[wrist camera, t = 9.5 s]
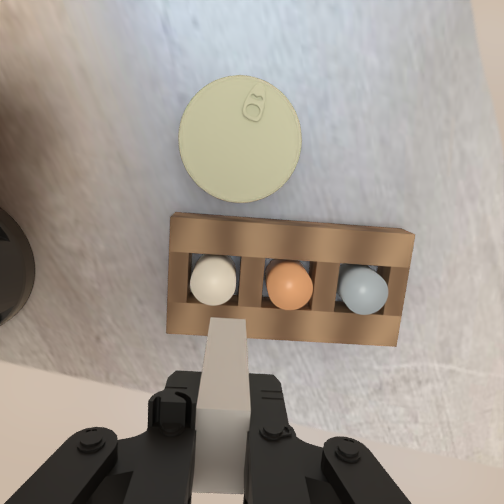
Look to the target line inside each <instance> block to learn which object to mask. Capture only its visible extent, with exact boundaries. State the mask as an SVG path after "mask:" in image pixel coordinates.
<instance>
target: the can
mask: <svg viewBox="0 0 504 504" xmlns="http://www.w3.org/2000/svg"><path fill="white" fill-rule="evenodd" d="M178 141H179V150H180V155H181V159H182V161H183V164H184V166H185V168H186V170H187V172H188V174H189V175H190V177H191V178H192V179H193V180H194V182H195V183H196V184H197V185H198V186H199V187H200V188H201V189H203V190H204V191H205V192H207V193H208V194H210V195H212V196H214V197H216V198H218V199H221V200H224V201H228V202H234V203H247V202H253V201H257V200H260V199H263V198H265V197H267V196H269V195H271V194H273V193H274V192H276V191H277V190H278V189H279V188H280V187H282V186H283V185H284V184H285V183H286V181H287V180H288V179H289V177H290V176H291V174H292V173H293V171H294V169H295V167H296V165H297V163H298V160H299V156H300V152H301V143H302V137H301V128H300V123H299V120H298V117H297V114H296V112H295V110H294V108H293V106H292V104H291V103H290V102H289V100H288V99H287V98H286V96H285V95H284V94H283V93H282V92H281V91H279V90H278V89H277V88H276V87H274V86H273V85H271V84H270V83H268V82H266V81H264V80H261V79H259V78H255V77H251V76H243V75H236V76H228V77H224V78H221V79H218V80H215V81H213V82H211V83H210V84H208V85H206V86H205V87H203V88H202V89H201V90H200V91H199V92H198V93H197V94H196V95H195V96H194V97H193V98H192V100H191V101H190V102H189V104H188V105H187V107H186V109H185V111H184V113H183V116H182V119H181V122H180V127H179V135H178Z"/></svg>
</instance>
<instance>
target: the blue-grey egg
mask: <svg viewBox="0 0 504 504" xmlns="http://www.w3.org/2000/svg"><path fill="white" fill-rule="evenodd" d="M336 292H337V293H338V294H339V296H340V297H341V298H342V300H343V301H344V302H345V304H346V305H347V306H348V308H349V309H350V310H351V311H353V312H354V313H357V314H360V315H369V314H372V313H375V312H377V311H378V310H380V309H381V308H382V307H383V306H384V304H385V302H386V300H387V298H388V286H387V284H386V282H385V280H384V279H383V278H382V277H381V276H380V275H378V274H377V273H376V272H375V271H373V270H372V269H371V268H370V267H369V266H367V265H361V264H347V263H344V264H342V265H341V266H340V267H339V275H338V283H337V290H336Z"/></svg>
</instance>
